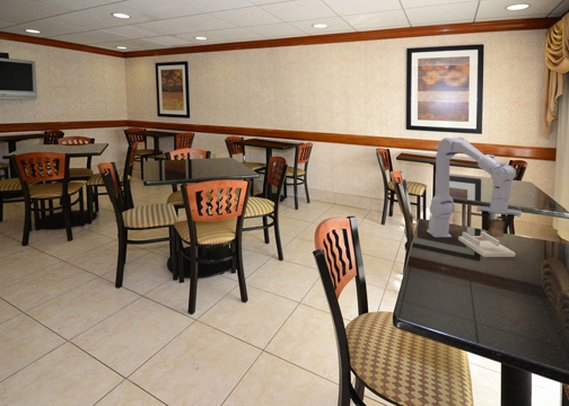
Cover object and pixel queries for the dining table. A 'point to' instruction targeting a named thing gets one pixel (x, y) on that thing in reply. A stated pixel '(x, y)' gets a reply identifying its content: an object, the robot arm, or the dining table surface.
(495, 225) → the walnut block
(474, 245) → the channel
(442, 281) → the dining table surface
